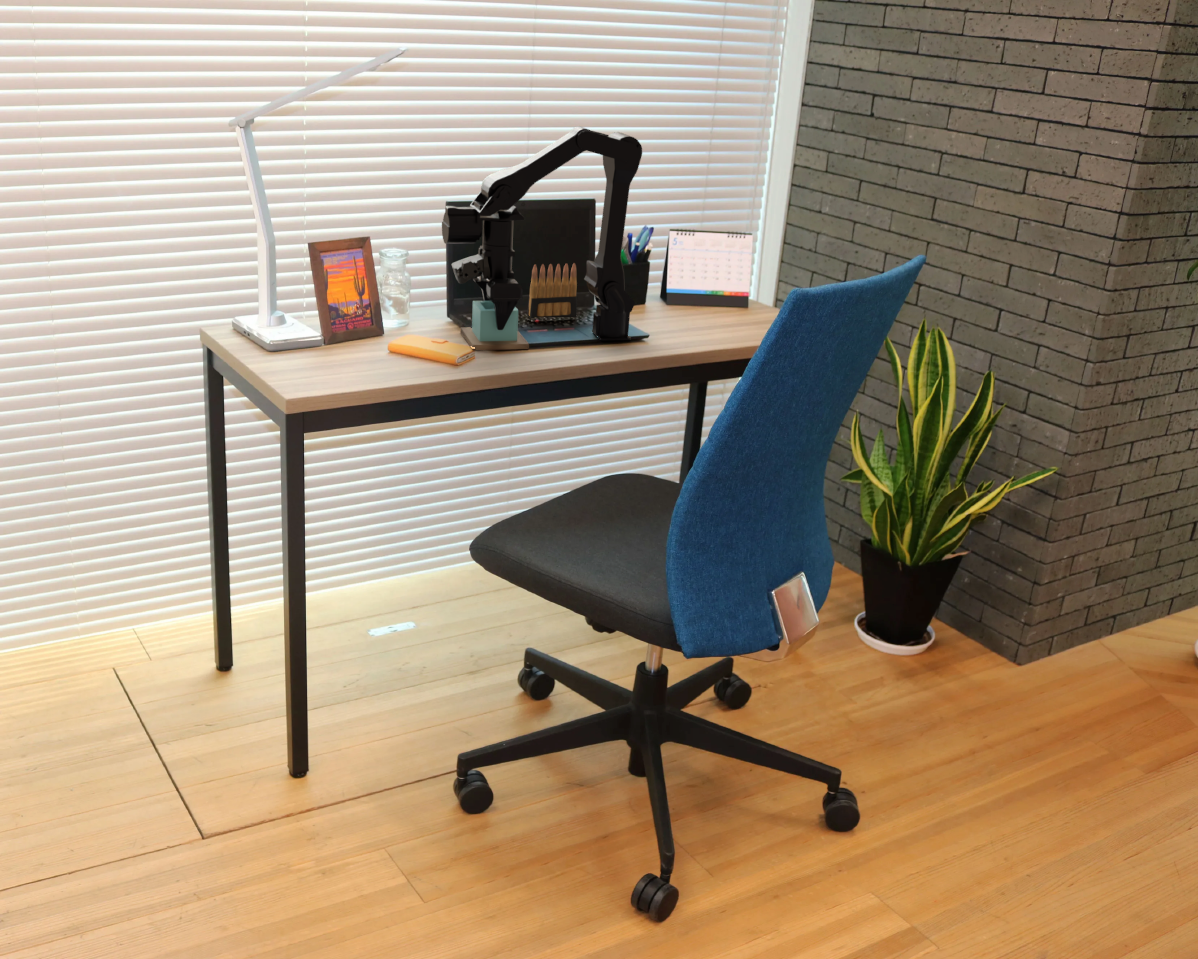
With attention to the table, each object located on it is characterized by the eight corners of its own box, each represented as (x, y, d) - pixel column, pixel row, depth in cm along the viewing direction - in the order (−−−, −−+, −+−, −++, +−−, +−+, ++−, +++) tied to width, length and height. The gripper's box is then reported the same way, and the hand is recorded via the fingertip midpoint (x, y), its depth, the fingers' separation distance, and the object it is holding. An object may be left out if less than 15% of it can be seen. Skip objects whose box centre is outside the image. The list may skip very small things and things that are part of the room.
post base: (514, 331, 232) (515, 302, 230) (528, 348, 221) (530, 318, 219) (460, 332, 229) (461, 302, 226) (472, 350, 218) (473, 319, 216)
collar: (508, 329, 229) (509, 300, 227) (517, 340, 223) (518, 310, 220) (471, 330, 227) (472, 300, 224) (479, 341, 220) (480, 310, 218)
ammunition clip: (529, 322, 239) (532, 265, 234) (526, 320, 240) (529, 263, 236) (576, 319, 243) (580, 263, 239) (573, 317, 245) (576, 261, 240)
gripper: (446, 232, 223) (445, 311, 229) (465, 254, 207) (463, 337, 213) (502, 233, 227) (499, 310, 233) (525, 254, 210) (521, 336, 216)
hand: (494, 323), depth 224 cm, fingers open, 9 cm apart
